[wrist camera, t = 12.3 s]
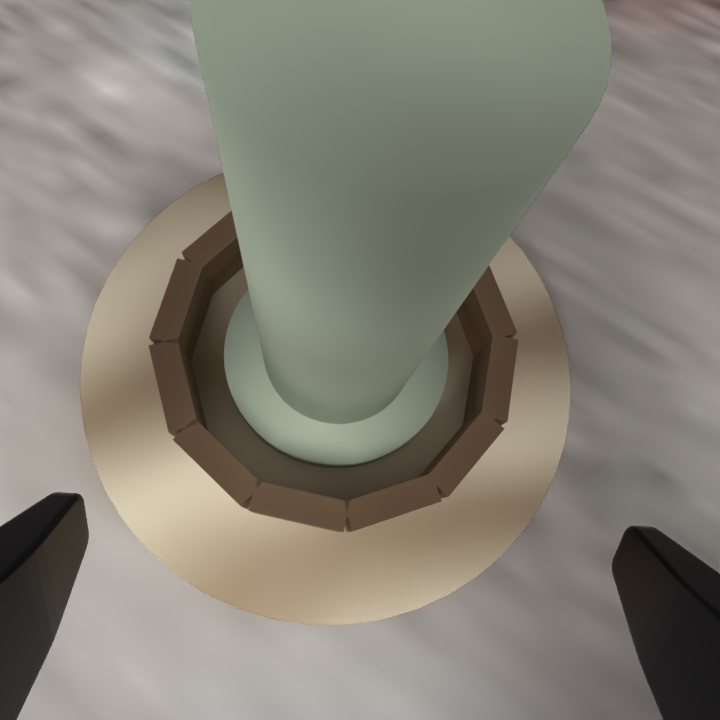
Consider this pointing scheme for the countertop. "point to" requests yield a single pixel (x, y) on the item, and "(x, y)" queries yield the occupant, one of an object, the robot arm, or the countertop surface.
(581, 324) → the countertop surface
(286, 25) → the flanged peg
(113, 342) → the locating collar
